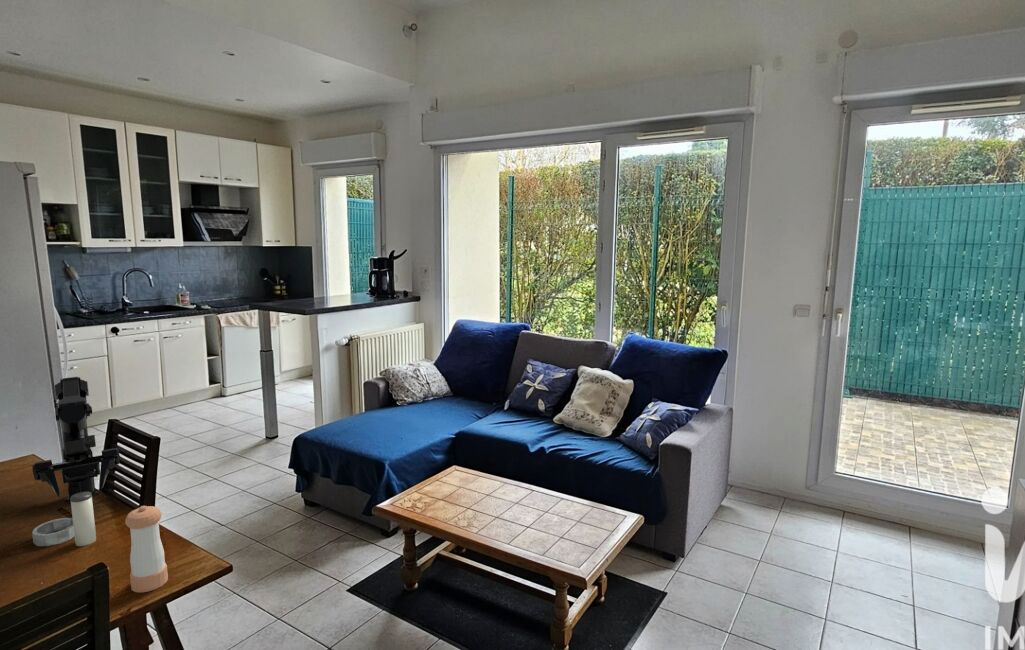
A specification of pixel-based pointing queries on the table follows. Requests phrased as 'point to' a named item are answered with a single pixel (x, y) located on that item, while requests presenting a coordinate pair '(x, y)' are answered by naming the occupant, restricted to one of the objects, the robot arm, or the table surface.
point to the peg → (83, 518)
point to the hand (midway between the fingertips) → (80, 492)
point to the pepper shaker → (146, 550)
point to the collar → (43, 530)
